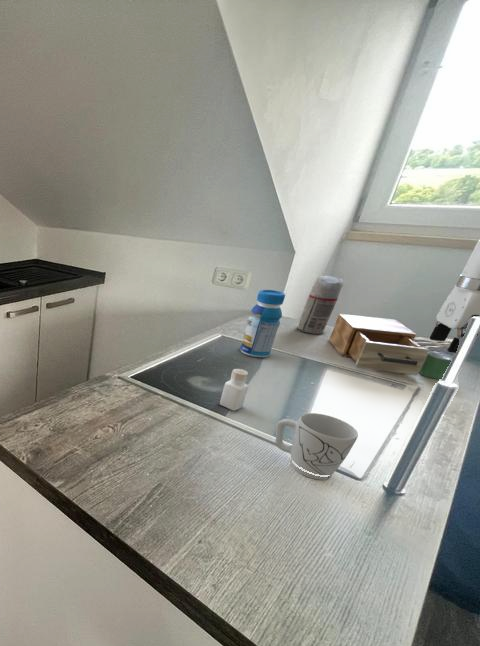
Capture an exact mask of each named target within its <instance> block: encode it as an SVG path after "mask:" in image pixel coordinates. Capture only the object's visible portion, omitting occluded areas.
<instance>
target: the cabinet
mask: <svg viewBox="0 0 480 646" xmlns="http://www.w3.org/2000/svg"><path fill="white" fill-rule="evenodd" d="M355 330H359V331H368V332H377V333H385V334H394V335H403V336H408V337H409V338H410V339H412V340H413V341H415V338H416V336H417V333H415V332H414V331H413V330H411V329H409V328H408V327H407V326H405V325H404V324H402V323H401V322H400V321H398V320H397V319H392V318H384V317H373V316H364V315H363V316H362V315H354V314H344V313H339V314H338V316H337V318H336V322H335V324H334V326H333V329H332V332H331V334H330V337H329V342H330V343H331V345H332V346H333V347H334V348H335V350H336V351H337V352H338V353H339V354H340V356H342V357H346V358H347V357H348V358H352V357H351V355H350V354H349V353H348V352H347V350H348V347H349V345H350V342H351V340H352V337H353V335H354V332H355Z"/></svg>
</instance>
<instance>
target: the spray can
mask: <svg viewBox="0 0 480 646" xmlns="http://www.w3.org/2000/svg"><path fill="white" fill-rule="evenodd" d="M343 286H344V280H343V279H342V278H337V277H335V276H333V275H329V274H327V275H320V276H318V277H316V279H315V281H314V283H313V285H312V287H311V289H310V293H309V295H308V297H307V298H306V302H305V304H304V307H303V310H302V313H301V316H300V318H299V322H298V326H297V327H296V329H298V330H299V331H301V332H304V333H306V334H312V335H322V334H324V331H325V330H326V327H327V324H328V322H329V320H330V318H331V315H332V314H333V311H334V308H335V306H336V304H337V301H338V299H339V296H340V293H341V290H342V288H343Z"/></svg>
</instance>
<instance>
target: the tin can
mask: <svg viewBox="0 0 480 646" xmlns="http://www.w3.org/2000/svg"><path fill="white" fill-rule="evenodd" d="M453 356H454V355H452V354H449V353H445V352H441V351H429V352H428V354H427V356H426V358H425V360H424V362H423V364H422V366H421V368H420V370H419V372H418V374H420V375H422V376H424V377H427V378H431V379H437V380H443V379H442V377H443V374H444V373H445V371H446V369H447V367H448V366H449V364H450V362H451V360H452V358H453Z"/></svg>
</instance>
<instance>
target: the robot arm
mask: <svg viewBox="0 0 480 646" xmlns="http://www.w3.org/2000/svg"><path fill="white" fill-rule="evenodd" d="M436 314H437V315H436V317H435V319H436V320H437V321H436V322H435V326H434V328H433V330H432V332H431V333H430V336H429V340H430V341H437V342H446V340H447V338H448V336H449V334H450V333H451V330H456V337H453V339H452V341H451V342H450V344H449V346H448V348H447V350H446V351H447V352H448V353H452V354H457V353H456V351H457V348H458V345H459V339H460V338H462V337H463V336H464V334H465V332H467V331H466V328H467V325H468V320H469V319H470V318H471V317H473V316H480V238H479V239H478V241H477V243H476V244H475V246H474V249H473V250H472V252H471V254H470V256H469V258H468V260H467V262H466V265H465V266H464V268H463V270H462V272H461V274H460V276H459V278H458V280H457V282H456V283H455V286H454V288H453V289H452V290H451V292H450V293H449V294H448V296H447V298H446V299H445V300H444V302H443V304H442V305H441V307H440V309H439V311H438V313H436ZM479 334H480V332H478V334H477V336H476V337H478V336H479Z"/></svg>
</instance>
